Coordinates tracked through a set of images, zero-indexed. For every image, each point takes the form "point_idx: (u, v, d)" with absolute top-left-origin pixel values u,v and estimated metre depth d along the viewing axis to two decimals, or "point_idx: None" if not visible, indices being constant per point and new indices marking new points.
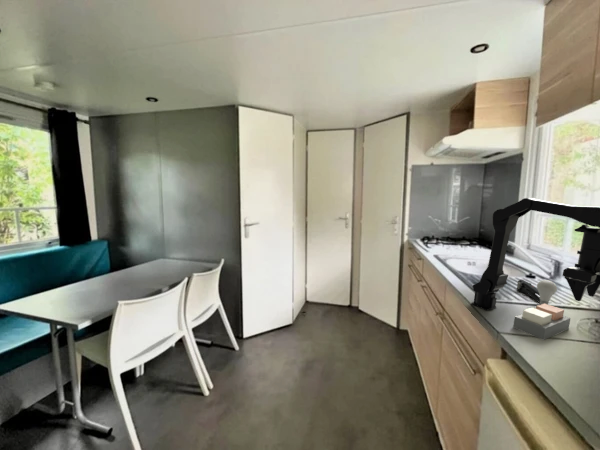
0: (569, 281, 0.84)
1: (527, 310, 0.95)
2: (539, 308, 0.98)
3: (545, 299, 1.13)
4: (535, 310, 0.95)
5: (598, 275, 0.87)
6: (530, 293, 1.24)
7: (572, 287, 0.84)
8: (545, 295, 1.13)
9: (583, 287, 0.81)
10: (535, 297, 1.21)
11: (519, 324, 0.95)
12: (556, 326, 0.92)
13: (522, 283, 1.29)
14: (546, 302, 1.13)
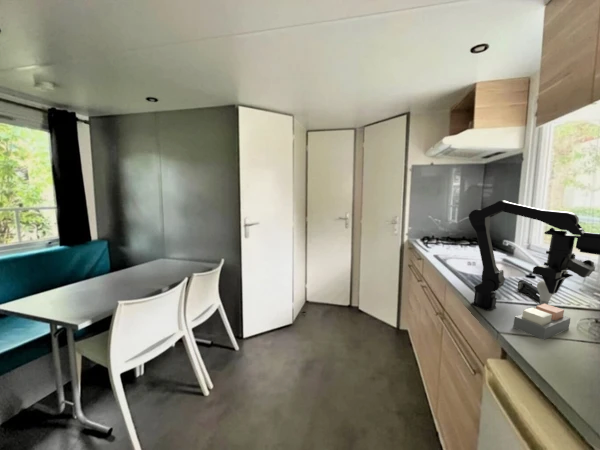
0: (544, 276, 0.96)
1: (527, 310, 0.95)
2: (539, 308, 0.98)
3: (545, 299, 1.13)
4: (535, 310, 0.95)
5: (560, 274, 0.96)
6: (531, 293, 1.24)
7: (546, 282, 0.96)
8: (545, 295, 1.13)
9: (555, 281, 0.94)
10: (537, 297, 1.20)
11: (519, 324, 0.95)
12: (556, 326, 0.92)
13: (523, 283, 1.29)
14: (546, 302, 1.13)
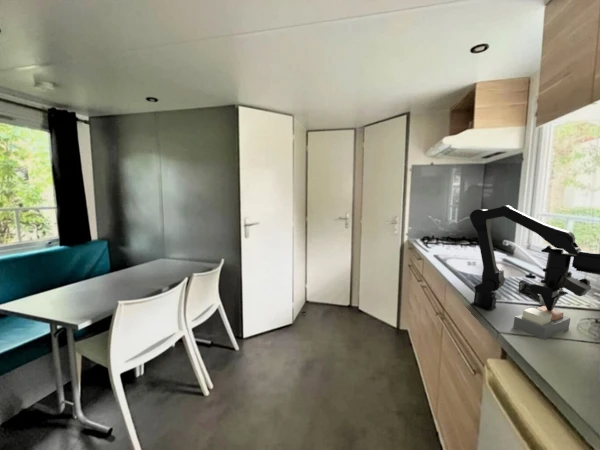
0: None
1: (527, 310, 0.95)
2: None
3: None
4: (535, 310, 0.95)
5: None
6: (533, 294, 1.23)
7: (544, 299, 0.97)
8: None
9: (553, 299, 0.95)
10: (539, 298, 1.20)
11: (519, 324, 0.95)
12: (556, 326, 0.92)
13: (524, 284, 1.29)
14: None
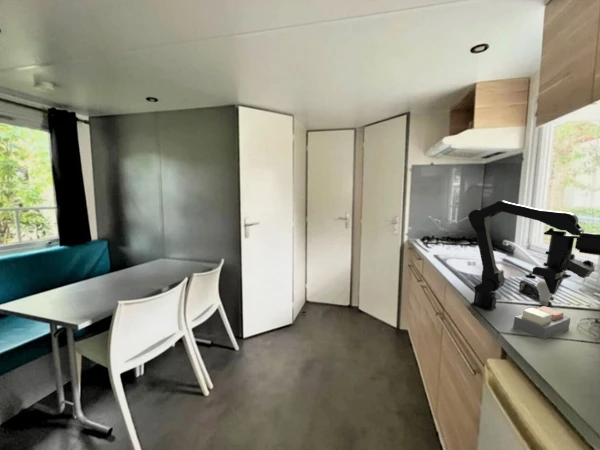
0: (544, 277, 0.96)
1: (527, 310, 0.95)
2: None
3: (545, 299, 1.13)
4: (535, 310, 0.95)
5: None
6: (535, 294, 1.23)
7: (547, 282, 0.96)
8: (545, 295, 1.13)
9: (556, 282, 0.94)
10: None
11: (519, 324, 0.95)
12: (556, 326, 0.92)
13: (525, 284, 1.28)
14: (546, 302, 1.13)
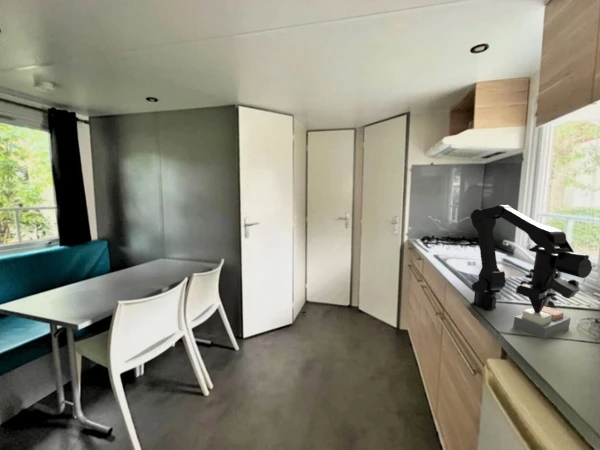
0: None
1: (527, 310, 0.95)
2: None
3: None
4: None
5: None
6: None
7: (532, 300, 0.93)
8: None
9: (540, 301, 0.91)
10: None
11: (519, 324, 0.95)
12: (556, 326, 0.92)
13: None
14: (546, 302, 1.13)
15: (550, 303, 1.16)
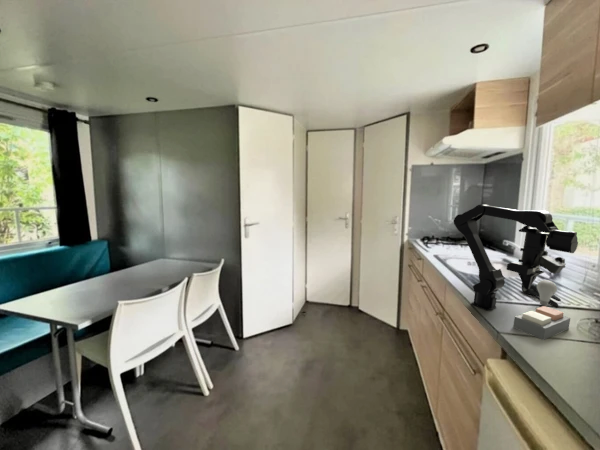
0: (519, 272, 1.00)
1: (526, 313, 0.95)
2: (539, 311, 0.98)
3: (545, 299, 1.13)
4: (535, 313, 0.95)
5: None
6: None
7: (522, 277, 1.00)
8: (545, 295, 1.13)
9: (529, 277, 0.97)
10: None
11: (519, 324, 0.95)
12: (556, 326, 0.92)
13: None
14: (546, 302, 1.13)
15: (554, 304, 1.16)
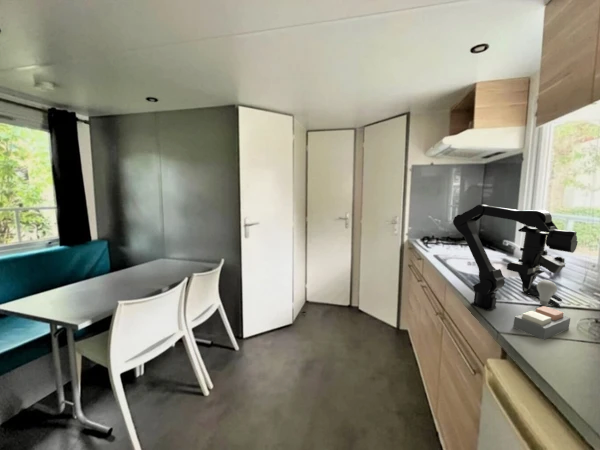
0: (519, 272, 1.00)
1: (526, 313, 0.95)
2: (539, 311, 0.98)
3: (545, 299, 1.13)
4: (535, 313, 0.95)
5: None
6: None
7: (522, 277, 1.00)
8: (545, 295, 1.13)
9: (530, 277, 0.98)
10: None
11: (519, 324, 0.95)
12: (556, 326, 0.92)
13: None
14: (546, 302, 1.13)
15: (555, 304, 1.15)
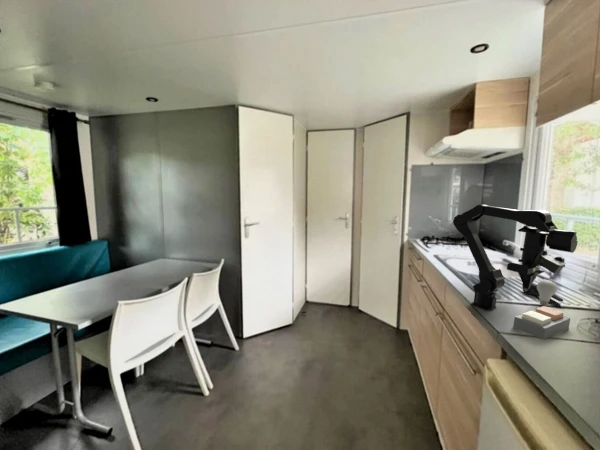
0: (519, 272, 1.00)
1: (526, 313, 0.95)
2: (539, 311, 0.98)
3: (545, 299, 1.13)
4: (535, 313, 0.95)
5: None
6: None
7: (522, 277, 1.00)
8: (545, 295, 1.13)
9: (530, 277, 0.98)
10: None
11: (519, 324, 0.95)
12: (556, 326, 0.92)
13: None
14: (546, 302, 1.13)
15: (556, 304, 1.15)
